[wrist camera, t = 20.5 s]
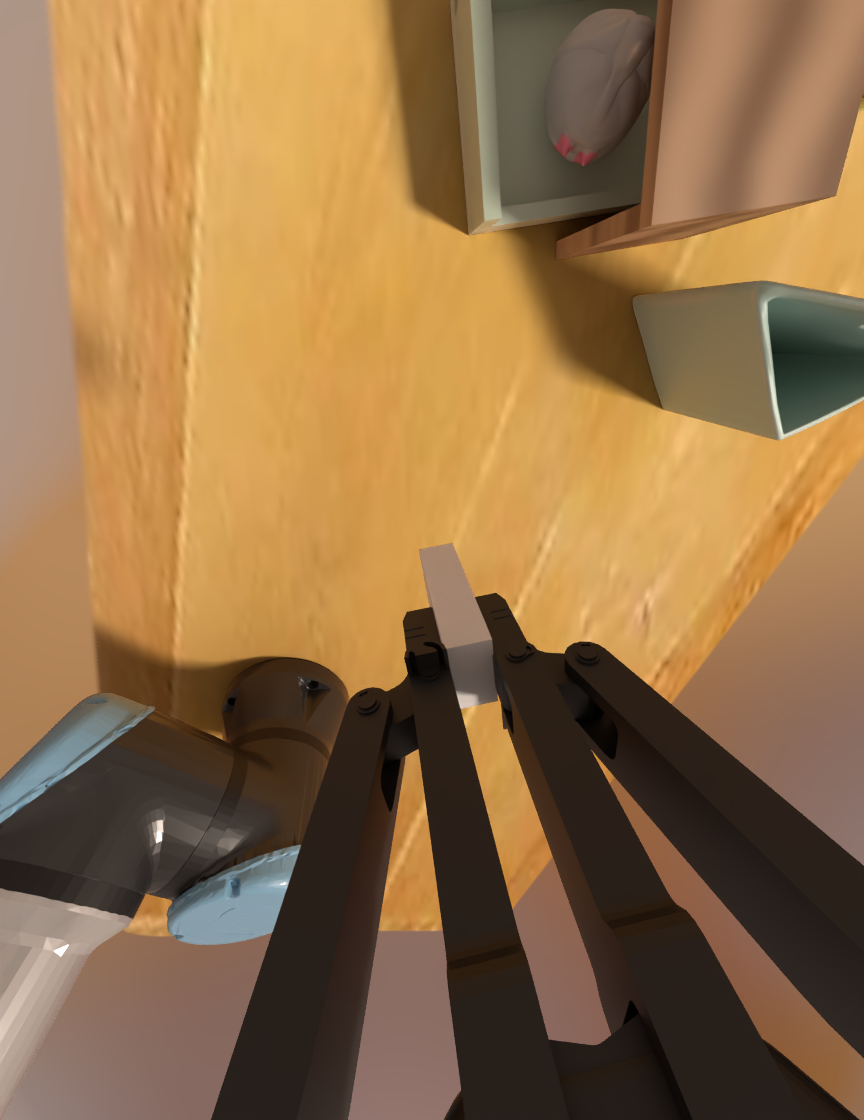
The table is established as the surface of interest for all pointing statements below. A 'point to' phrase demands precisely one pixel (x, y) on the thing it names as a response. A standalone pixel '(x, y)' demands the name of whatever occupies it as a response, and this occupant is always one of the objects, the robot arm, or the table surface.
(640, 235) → the wooden open box
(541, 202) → the tray
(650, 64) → the figurine
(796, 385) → the grey piece
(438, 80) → the table surface
